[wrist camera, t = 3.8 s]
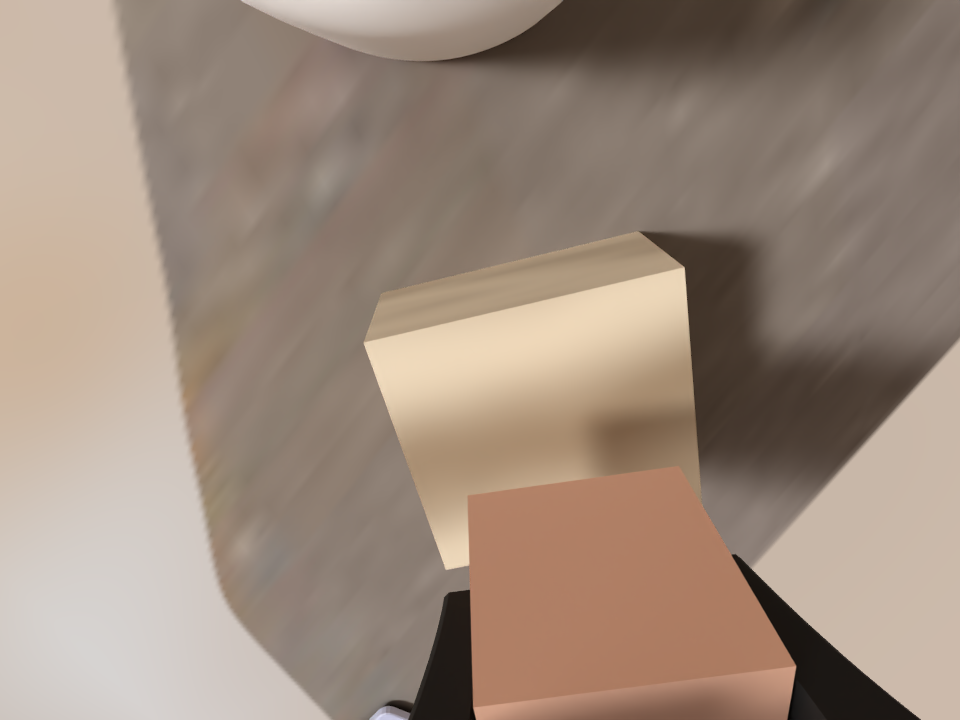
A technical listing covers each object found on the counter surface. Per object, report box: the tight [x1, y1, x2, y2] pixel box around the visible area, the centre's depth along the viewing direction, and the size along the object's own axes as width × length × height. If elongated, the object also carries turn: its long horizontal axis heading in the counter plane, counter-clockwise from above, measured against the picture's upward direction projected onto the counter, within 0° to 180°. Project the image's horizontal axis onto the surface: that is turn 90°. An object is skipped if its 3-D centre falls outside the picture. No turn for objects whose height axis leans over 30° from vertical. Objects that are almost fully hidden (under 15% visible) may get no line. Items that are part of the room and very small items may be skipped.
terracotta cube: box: [467, 466, 796, 720], centre depth 11 cm, size 4×4×4 cm
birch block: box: [364, 231, 702, 570], centre depth 17 cm, size 8×8×4 cm
